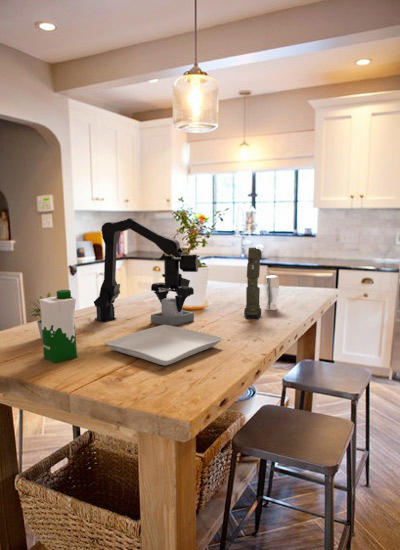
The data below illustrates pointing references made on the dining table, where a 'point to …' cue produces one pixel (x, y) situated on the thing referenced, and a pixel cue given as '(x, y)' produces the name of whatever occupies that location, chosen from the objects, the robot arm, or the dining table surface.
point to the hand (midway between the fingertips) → (172, 310)
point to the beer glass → (271, 291)
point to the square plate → (164, 344)
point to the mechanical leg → (253, 285)
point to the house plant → (39, 314)
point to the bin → (172, 319)
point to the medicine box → (170, 308)
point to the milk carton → (58, 327)
